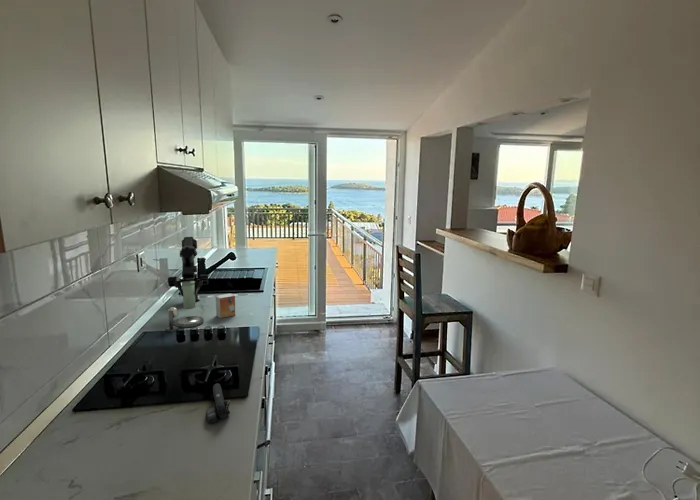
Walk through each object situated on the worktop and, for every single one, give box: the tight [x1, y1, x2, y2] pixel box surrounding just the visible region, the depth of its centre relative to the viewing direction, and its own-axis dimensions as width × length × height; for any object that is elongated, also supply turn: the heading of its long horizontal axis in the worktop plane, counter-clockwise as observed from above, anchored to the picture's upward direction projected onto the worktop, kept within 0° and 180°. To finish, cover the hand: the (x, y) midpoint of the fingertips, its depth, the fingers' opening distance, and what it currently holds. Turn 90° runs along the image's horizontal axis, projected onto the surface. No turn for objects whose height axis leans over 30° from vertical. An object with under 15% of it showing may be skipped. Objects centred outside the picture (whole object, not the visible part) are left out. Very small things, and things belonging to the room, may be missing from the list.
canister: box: [181, 281, 197, 310], centre depth 190 cm, size 6×6×13 cm
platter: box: [174, 315, 205, 329], centre depth 182 cm, size 13×13×1 cm
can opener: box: [205, 382, 232, 424], centre depth 115 cm, size 18×7×6 cm, turn 20°
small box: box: [215, 292, 236, 319], centre depth 192 cm, size 8×6×10 cm
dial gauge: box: [164, 306, 180, 333], centre depth 172 cm, size 4×5×10 cm
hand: (188, 295), depth 188 cm, fingers closed on canister, 6 cm apart
